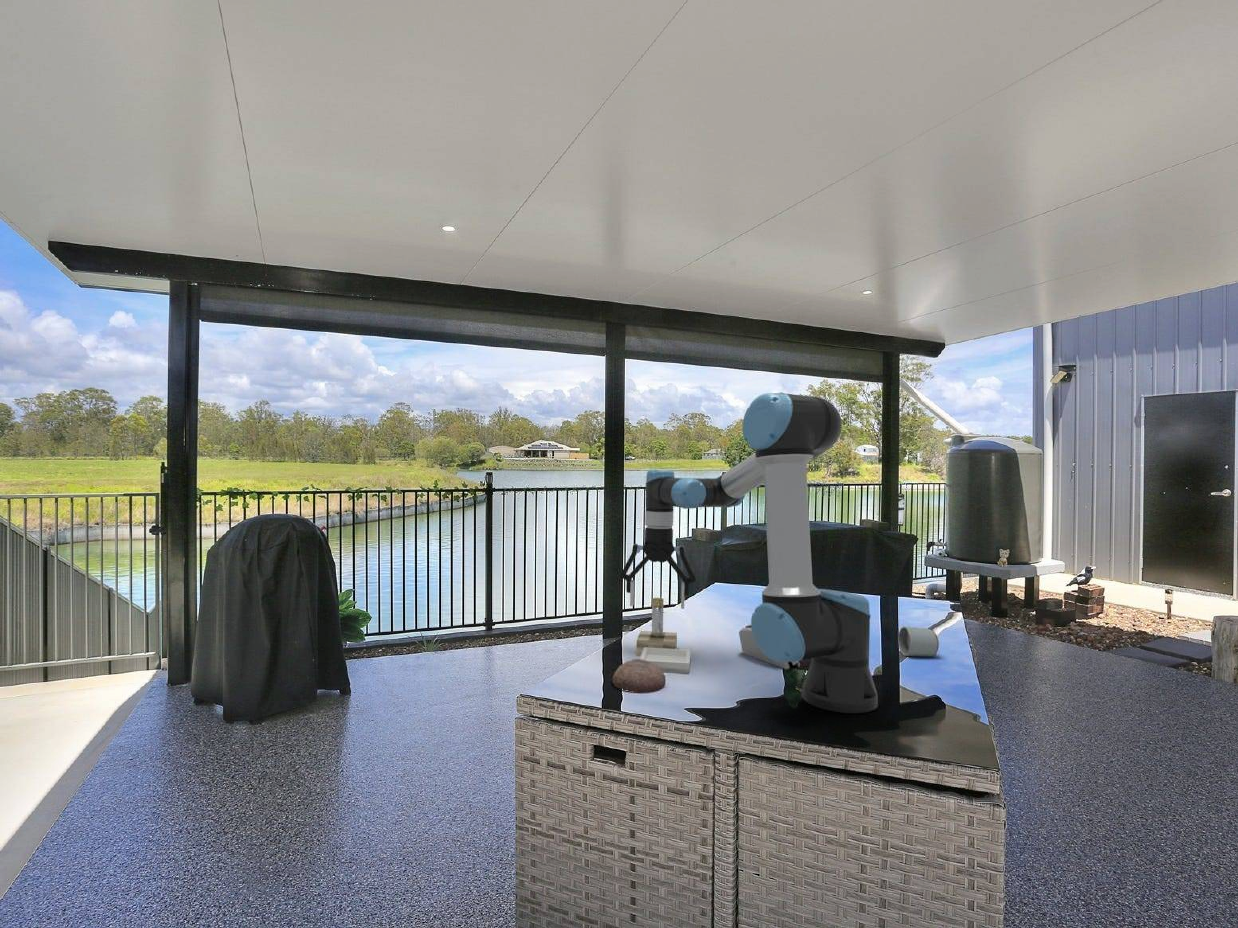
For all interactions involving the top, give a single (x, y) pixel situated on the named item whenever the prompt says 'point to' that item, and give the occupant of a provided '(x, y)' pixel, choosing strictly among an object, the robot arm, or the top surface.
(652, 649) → the tray
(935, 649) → the grey hollow cylinder
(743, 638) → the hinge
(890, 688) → the top surface
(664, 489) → the robot arm
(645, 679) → the decorative stone
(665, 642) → the socket block
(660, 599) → the pin
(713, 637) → the top surface
